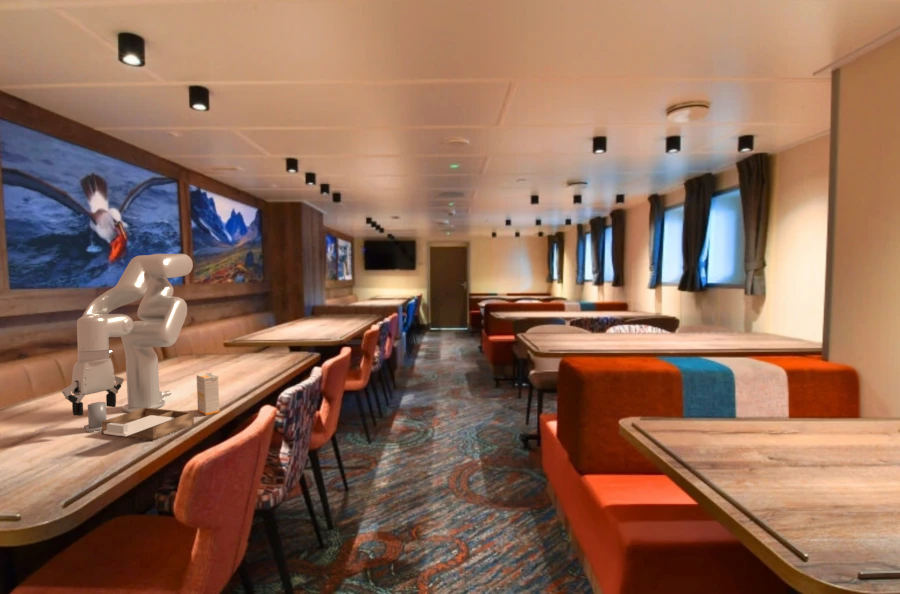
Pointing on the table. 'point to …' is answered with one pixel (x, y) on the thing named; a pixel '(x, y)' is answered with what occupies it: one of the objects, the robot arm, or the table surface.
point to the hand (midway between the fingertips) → (95, 410)
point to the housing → (176, 423)
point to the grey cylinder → (96, 416)
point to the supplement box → (208, 393)
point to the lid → (135, 425)
